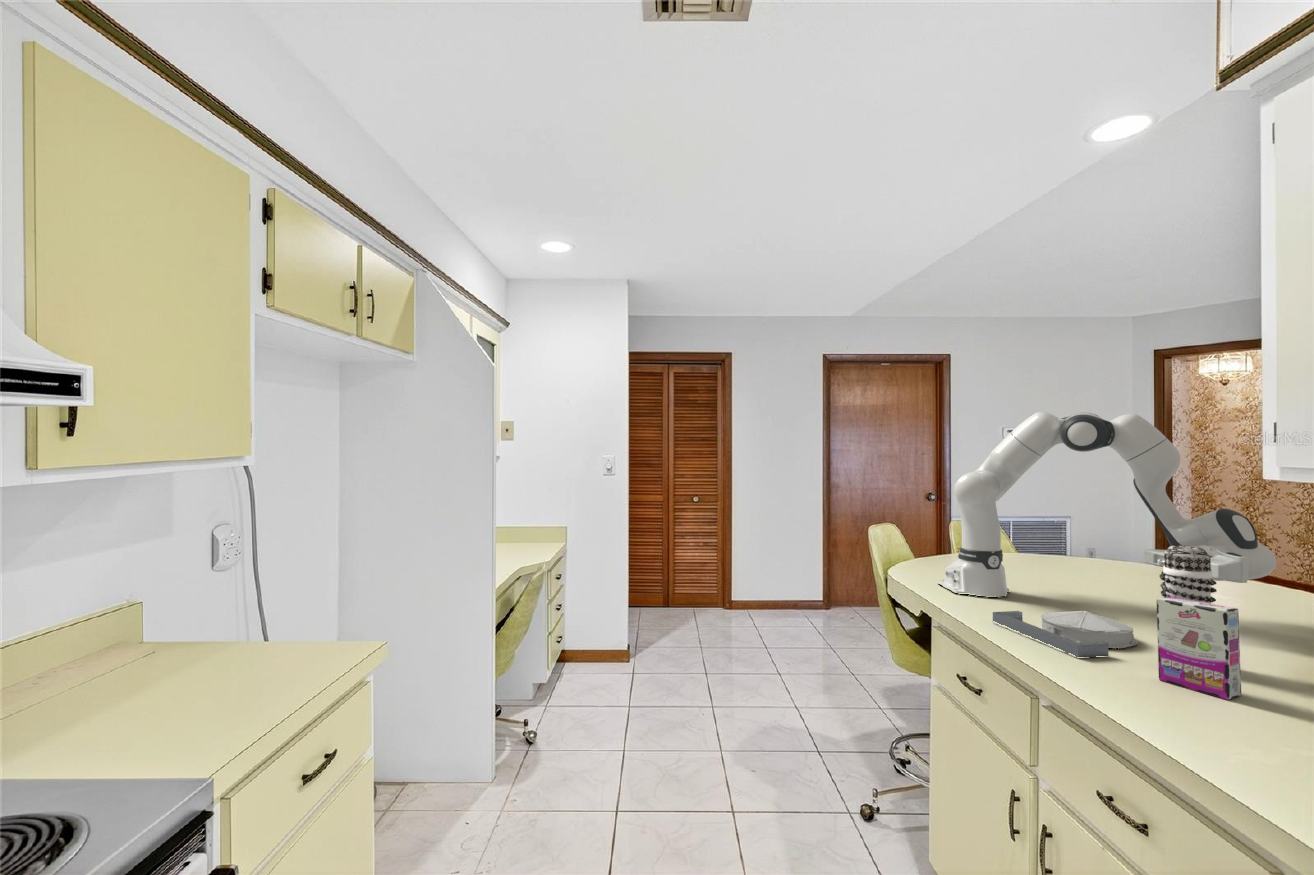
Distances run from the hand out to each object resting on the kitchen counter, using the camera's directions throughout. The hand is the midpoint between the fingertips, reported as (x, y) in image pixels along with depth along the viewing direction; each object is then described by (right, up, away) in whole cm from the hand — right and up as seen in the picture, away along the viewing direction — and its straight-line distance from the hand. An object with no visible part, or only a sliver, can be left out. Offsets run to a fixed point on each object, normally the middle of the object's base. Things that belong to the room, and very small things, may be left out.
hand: (1162, 563), depth 150 cm
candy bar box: (-23, -17, -35) cm, 45 cm away
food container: (-22, -18, -4) cm, 29 cm away
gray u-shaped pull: (-32, -17, -5) cm, 37 cm away
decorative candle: (-14, -17, -23) cm, 31 cm away
